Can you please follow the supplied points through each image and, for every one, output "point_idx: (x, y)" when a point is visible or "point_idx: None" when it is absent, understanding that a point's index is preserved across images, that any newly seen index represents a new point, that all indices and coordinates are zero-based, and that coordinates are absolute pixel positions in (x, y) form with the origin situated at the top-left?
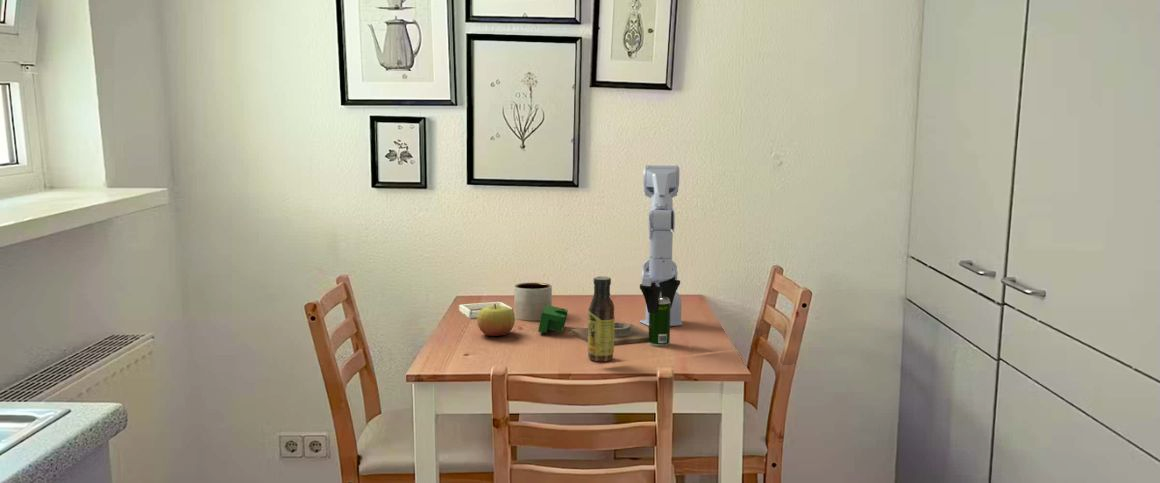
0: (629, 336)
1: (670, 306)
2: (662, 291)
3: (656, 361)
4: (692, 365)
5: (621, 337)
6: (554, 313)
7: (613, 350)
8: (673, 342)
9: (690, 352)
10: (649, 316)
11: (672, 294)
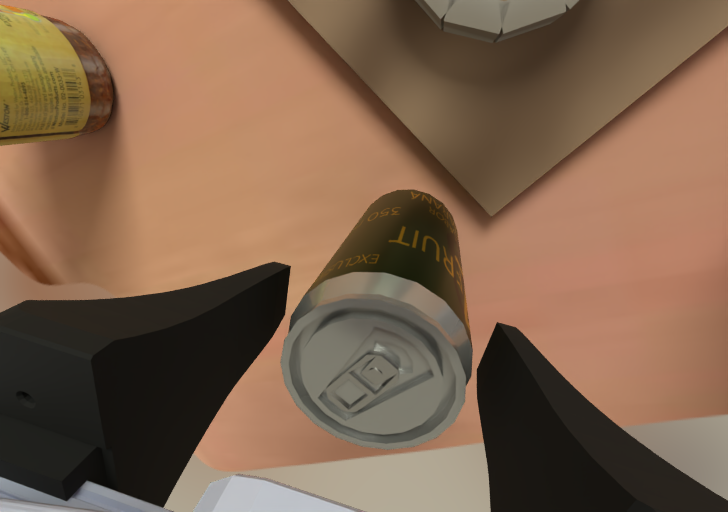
0: (439, 63)
1: (477, 384)
2: (541, 419)
3: (177, 281)
4: None
5: (397, 25)
6: None
7: (58, 139)
8: (471, 280)
9: None
10: (352, 238)
11: (490, 486)
